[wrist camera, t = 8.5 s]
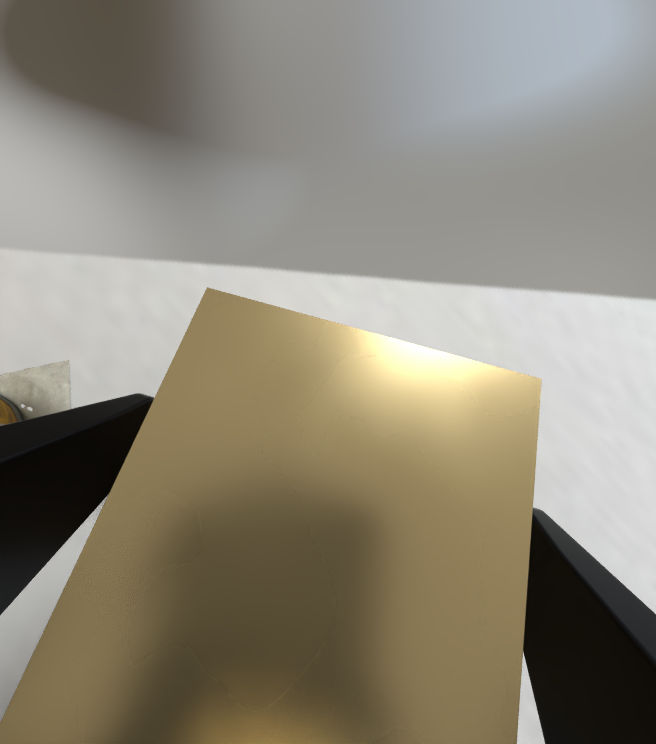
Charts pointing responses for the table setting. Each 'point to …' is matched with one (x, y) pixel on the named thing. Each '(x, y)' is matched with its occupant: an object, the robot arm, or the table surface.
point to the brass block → (300, 550)
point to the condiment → (34, 392)
